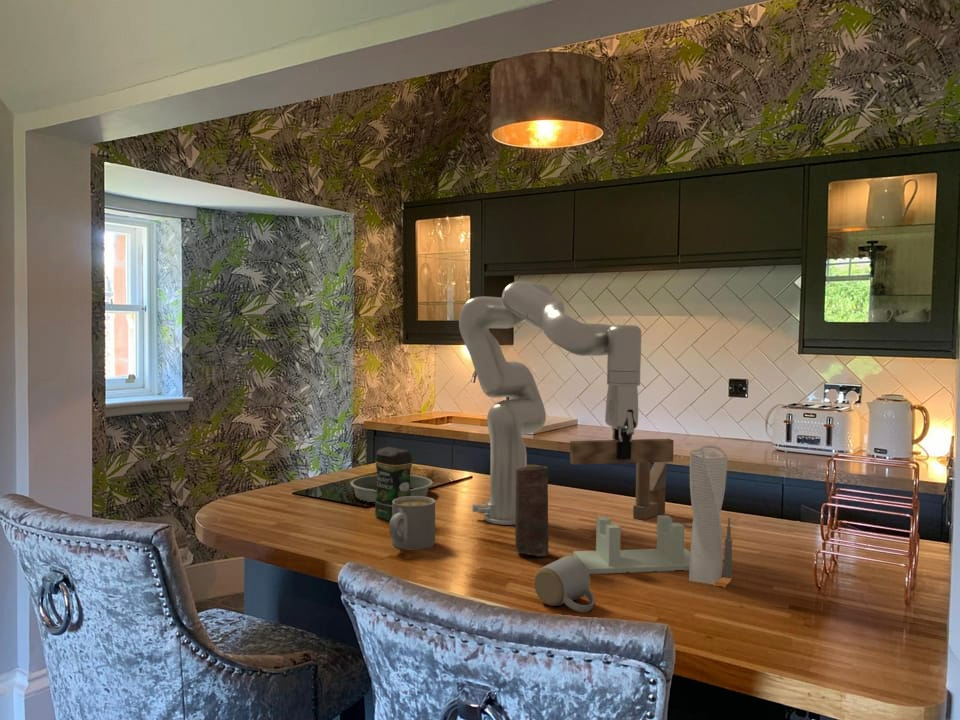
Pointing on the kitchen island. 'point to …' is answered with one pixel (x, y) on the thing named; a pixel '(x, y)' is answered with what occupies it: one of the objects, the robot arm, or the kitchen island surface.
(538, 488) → the candle
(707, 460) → the skyscraper
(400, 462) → the coffee jar
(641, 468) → the brown wooden upright piece
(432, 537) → the coffee mug
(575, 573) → the ceramic mug
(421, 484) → the cake pan
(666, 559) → the notched stand
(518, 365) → the robot arm
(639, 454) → the walnut rail
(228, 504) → the kitchen island surface
